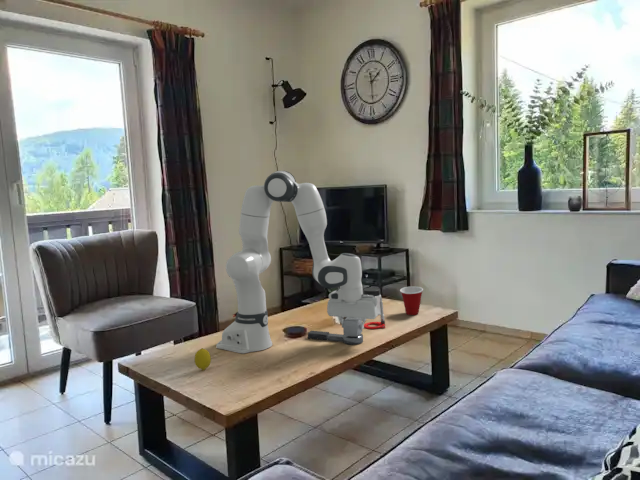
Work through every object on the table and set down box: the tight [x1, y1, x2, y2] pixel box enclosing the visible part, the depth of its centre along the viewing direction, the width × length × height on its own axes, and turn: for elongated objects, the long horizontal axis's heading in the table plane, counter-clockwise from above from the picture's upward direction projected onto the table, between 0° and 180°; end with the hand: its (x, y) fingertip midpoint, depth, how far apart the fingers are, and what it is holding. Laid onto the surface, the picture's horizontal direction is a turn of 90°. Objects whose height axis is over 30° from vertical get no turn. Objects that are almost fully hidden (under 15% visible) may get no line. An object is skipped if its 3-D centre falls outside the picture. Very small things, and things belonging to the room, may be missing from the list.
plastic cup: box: [399, 286, 424, 316], centre depth 237 cm, size 11×11×12 cm
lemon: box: [194, 348, 212, 371], centre depth 177 cm, size 6×6×8 cm
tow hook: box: [364, 296, 386, 330], centre depth 220 cm, size 8×13×9 cm
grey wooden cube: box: [342, 317, 363, 336], centre depth 200 cm, size 6×6×6 cm
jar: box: [362, 287, 382, 316], centre depth 240 cm, size 9×8×12 cm
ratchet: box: [307, 330, 364, 346], centre depth 204 cm, size 23×8×6 cm, turn 67°
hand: (352, 328), depth 200 cm, fingers closed on grey wooden cube, 6 cm apart
